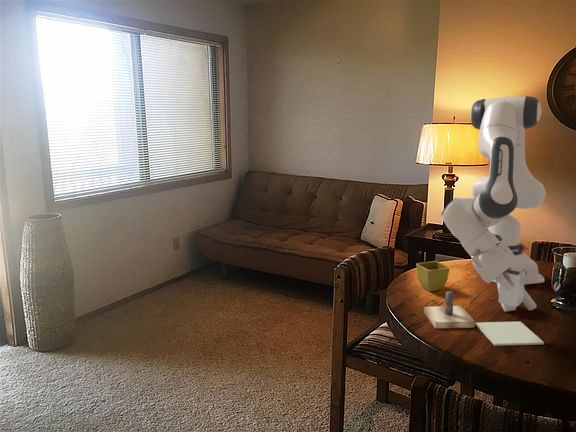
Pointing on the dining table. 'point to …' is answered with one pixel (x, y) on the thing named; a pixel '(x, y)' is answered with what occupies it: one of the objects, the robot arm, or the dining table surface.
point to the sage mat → (508, 333)
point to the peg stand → (449, 315)
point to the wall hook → (526, 301)
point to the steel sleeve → (516, 292)
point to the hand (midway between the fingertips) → (514, 285)
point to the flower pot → (432, 275)
